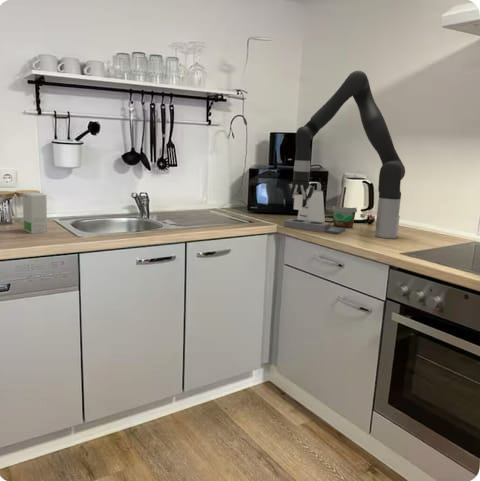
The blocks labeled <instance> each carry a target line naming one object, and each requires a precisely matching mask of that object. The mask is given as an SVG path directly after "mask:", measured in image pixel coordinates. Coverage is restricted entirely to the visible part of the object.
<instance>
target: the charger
mask: <svg viewBox="0 0 480 481" xmlns="http://www.w3.org/2000/svg"><path fill="white" fill-rule="evenodd" d="M302 206H303V195H302V193H298V194H296V195H295V196H294V206H293V210H297V211H299V210H304V208H306V207H302Z"/></svg>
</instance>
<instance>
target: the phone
mask: <svg viewBox="0 0 480 481" xmlns="http://www.w3.org/2000/svg"><path fill="white" fill-rule="evenodd" d="M346 229H347V228H339V227H335V226H332V227H330V229H328V230H326V231H325V232H324V233H325V234H331V235H340V234H341V233H344V232H345V231H346Z"/></svg>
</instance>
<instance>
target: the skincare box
mask: <svg viewBox="0 0 480 481" xmlns="http://www.w3.org/2000/svg"><path fill="white" fill-rule="evenodd" d="M47 209H48V208H47V195H46V194H43V193H41V192H36V191H35V192H33V191H32V192H22V213H23V214H22V215H23V216H22V218H23V231H25V232H27V233H30V234H32V235H33V234H39V233H40V234H41V233H47V232H48V223H47V222H48V216H47Z"/></svg>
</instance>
